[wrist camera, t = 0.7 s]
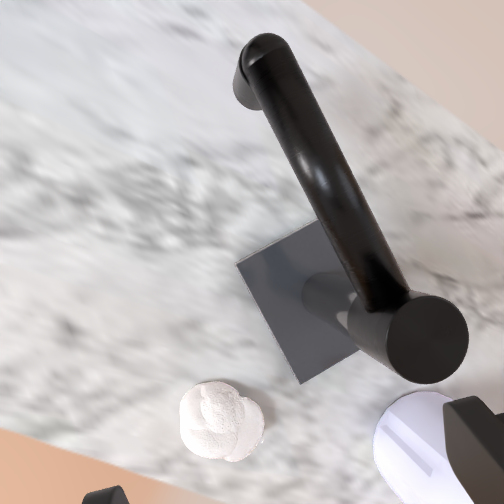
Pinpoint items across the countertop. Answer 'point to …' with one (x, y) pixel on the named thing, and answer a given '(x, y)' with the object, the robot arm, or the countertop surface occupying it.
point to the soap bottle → (417, 451)
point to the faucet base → (284, 298)
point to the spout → (350, 224)
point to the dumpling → (220, 422)
